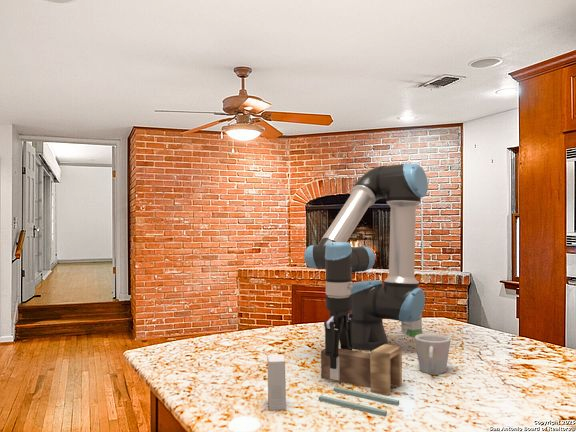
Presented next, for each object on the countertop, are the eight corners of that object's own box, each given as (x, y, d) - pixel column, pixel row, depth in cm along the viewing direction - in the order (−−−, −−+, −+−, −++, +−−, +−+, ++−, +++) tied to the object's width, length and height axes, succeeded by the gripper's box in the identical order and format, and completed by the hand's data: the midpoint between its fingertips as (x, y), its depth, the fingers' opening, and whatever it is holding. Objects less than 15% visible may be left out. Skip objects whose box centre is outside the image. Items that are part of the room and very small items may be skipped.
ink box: (422, 336, 190) (422, 305, 190) (411, 337, 189) (410, 306, 189) (411, 331, 198) (411, 302, 198) (400, 332, 197) (400, 302, 197)
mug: (451, 366, 152) (450, 334, 152) (450, 382, 138) (450, 346, 138) (416, 363, 155) (416, 332, 155) (412, 378, 141) (411, 344, 141)
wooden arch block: (370, 391, 131) (370, 351, 131) (385, 381, 139) (384, 343, 139) (388, 395, 128) (387, 354, 128) (401, 385, 136) (401, 346, 136)
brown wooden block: (321, 378, 142) (320, 350, 142) (329, 373, 146) (329, 346, 146) (372, 388, 133) (372, 359, 133) (379, 383, 138) (379, 354, 138)
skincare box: (267, 401, 125) (267, 354, 125) (284, 400, 125) (283, 353, 125) (268, 410, 119) (268, 361, 119) (286, 410, 119) (285, 360, 119)
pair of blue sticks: (318, 400, 125) (318, 396, 125) (335, 390, 133) (335, 386, 133) (384, 416, 115) (384, 412, 115) (399, 404, 122) (399, 400, 122)
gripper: (335, 301, 132) (336, 388, 132) (364, 292, 147) (364, 370, 147) (311, 299, 136) (312, 383, 136) (341, 290, 151) (342, 366, 151)
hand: (339, 376), depth 142 cm, fingers closed on brown wooden block, 5 cm apart
